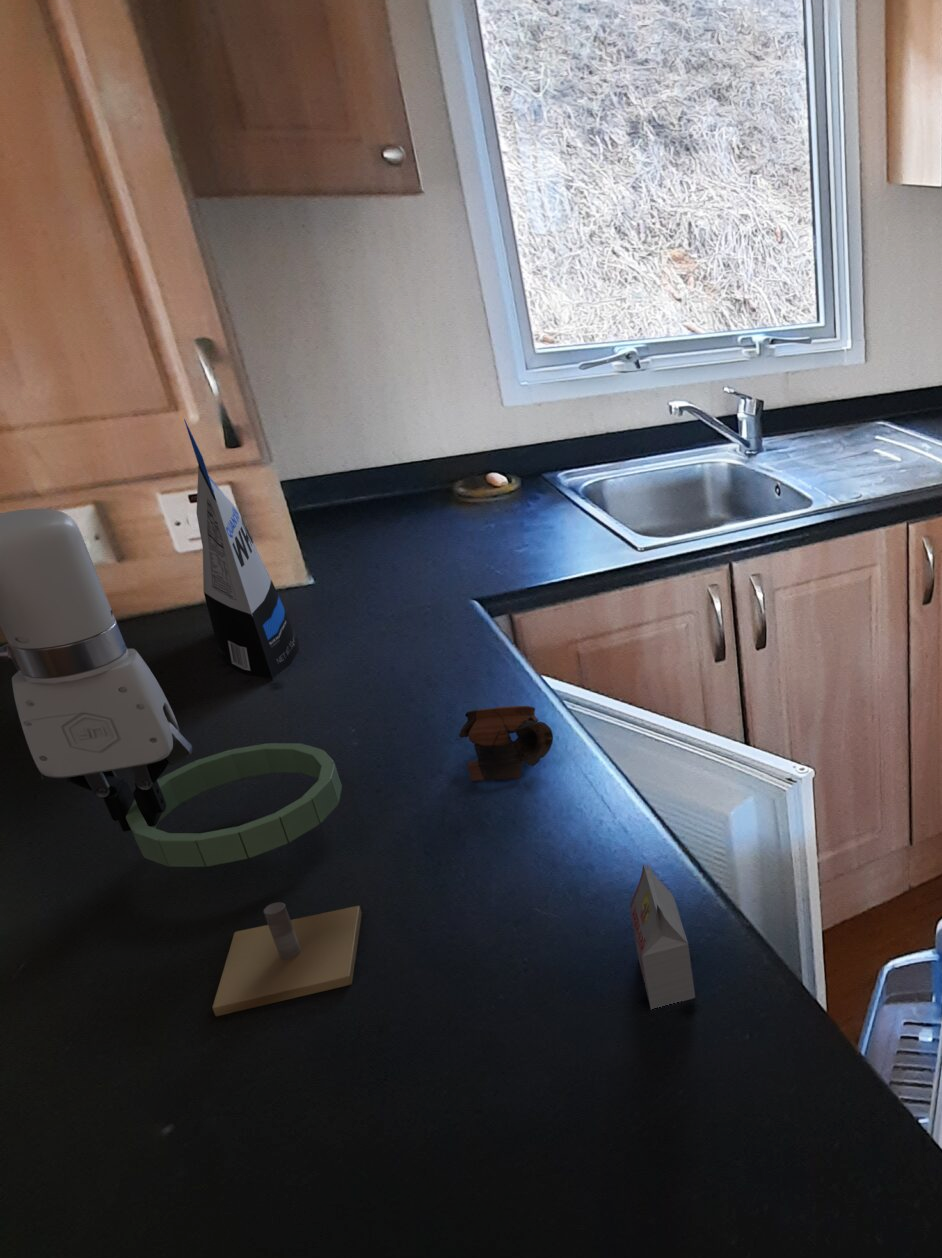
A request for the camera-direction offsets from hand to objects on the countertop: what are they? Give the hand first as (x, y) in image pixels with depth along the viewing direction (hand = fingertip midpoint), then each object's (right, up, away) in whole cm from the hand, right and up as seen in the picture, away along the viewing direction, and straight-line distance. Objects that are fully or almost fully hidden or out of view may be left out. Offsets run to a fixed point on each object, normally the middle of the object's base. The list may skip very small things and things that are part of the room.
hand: (143, 820), depth 101 cm
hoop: (+7, 0, +3) cm, 8 cm away
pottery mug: (+27, +4, +20) cm, 34 cm away
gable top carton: (+53, -12, -10) cm, 56 cm away
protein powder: (-20, +17, +46) cm, 53 cm away
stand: (+20, -11, -9) cm, 25 cm away
